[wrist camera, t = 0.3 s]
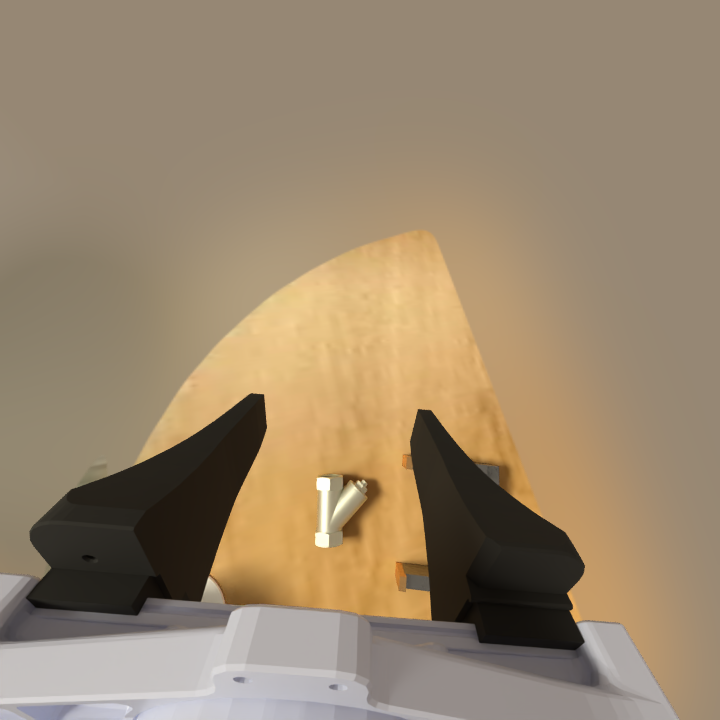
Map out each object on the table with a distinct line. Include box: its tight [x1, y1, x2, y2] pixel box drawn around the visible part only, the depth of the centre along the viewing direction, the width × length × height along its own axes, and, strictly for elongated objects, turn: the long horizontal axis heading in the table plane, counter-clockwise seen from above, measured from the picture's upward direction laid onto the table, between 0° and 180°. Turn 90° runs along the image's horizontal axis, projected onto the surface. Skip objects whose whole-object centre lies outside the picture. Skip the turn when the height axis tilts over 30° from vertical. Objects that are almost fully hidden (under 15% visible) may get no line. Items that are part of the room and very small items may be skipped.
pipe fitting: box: [315, 474, 368, 548], centre depth 38 cm, size 8×4×7 cm
